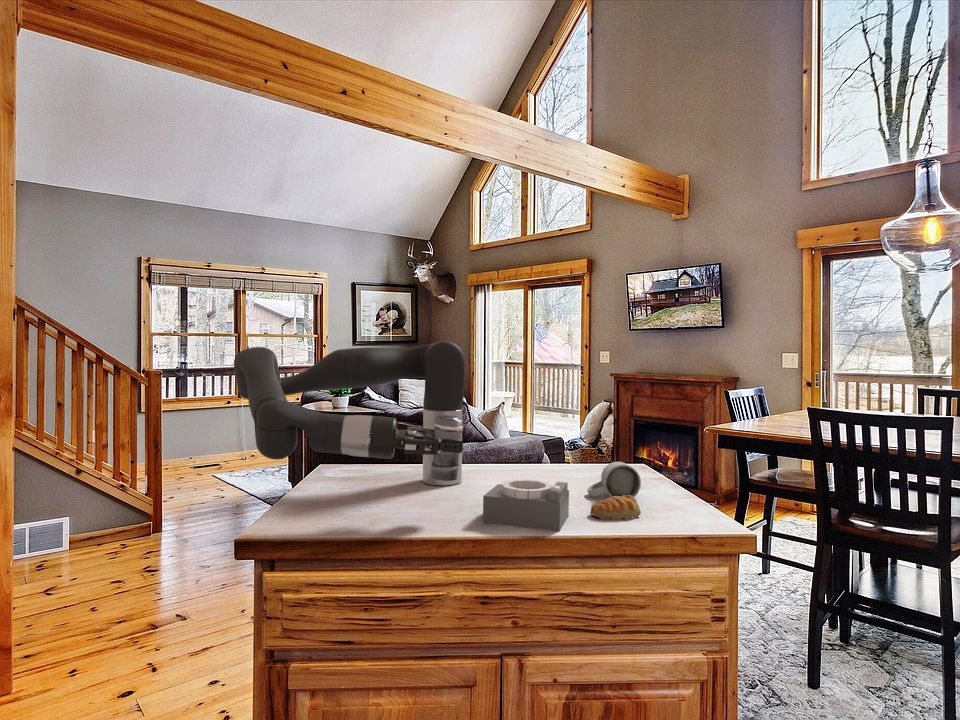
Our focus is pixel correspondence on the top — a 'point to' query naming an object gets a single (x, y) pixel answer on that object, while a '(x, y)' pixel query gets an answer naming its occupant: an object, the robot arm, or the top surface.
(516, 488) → the grey socket block
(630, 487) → the ceramic mug
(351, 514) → the top surface
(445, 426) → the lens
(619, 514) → the pastry
